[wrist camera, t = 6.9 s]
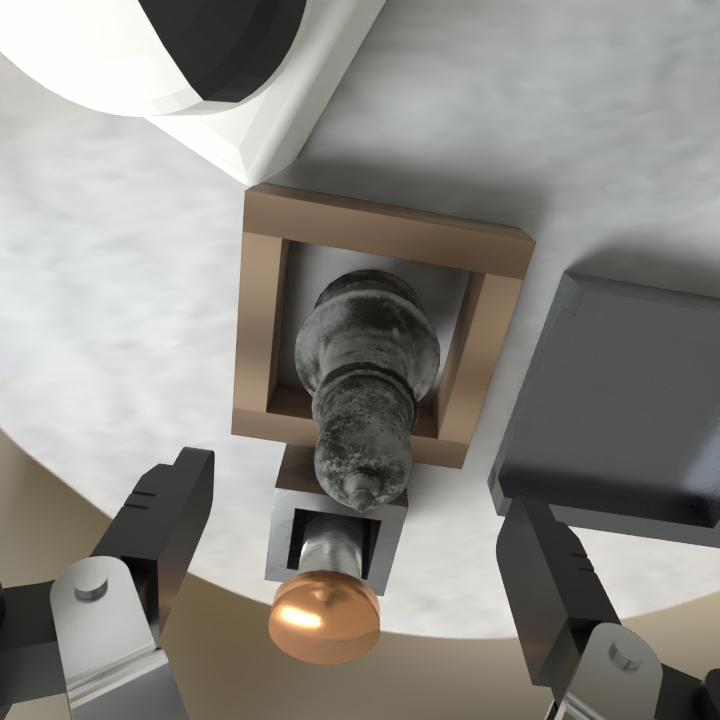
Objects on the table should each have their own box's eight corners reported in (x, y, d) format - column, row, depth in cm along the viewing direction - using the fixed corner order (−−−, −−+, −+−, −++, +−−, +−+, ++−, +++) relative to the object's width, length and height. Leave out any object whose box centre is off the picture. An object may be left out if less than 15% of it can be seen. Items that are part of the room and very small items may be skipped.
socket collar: (259, 182, 20) (245, 190, 18) (518, 227, 21) (536, 241, 18) (244, 405, 25) (231, 434, 23) (454, 438, 26) (461, 469, 23)
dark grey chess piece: (341, 397, 25) (314, 614, 14) (282, 297, 22) (196, 466, 12) (450, 352, 23) (512, 553, 13) (400, 240, 21) (424, 373, 10)
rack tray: (563, 271, 22) (585, 290, 19) (821, 316, 22) (871, 339, 20) (487, 482, 27) (497, 515, 25) (695, 513, 27) (724, 548, 25)
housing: (290, 429, 26) (274, 487, 22) (403, 446, 26) (408, 507, 22) (280, 513, 28) (264, 579, 24) (382, 528, 29) (383, 596, 25)
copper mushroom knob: (299, 464, 25) (273, 585, 18) (385, 477, 25) (389, 601, 18) (290, 528, 27) (264, 656, 20) (370, 540, 27) (369, 670, 20)
